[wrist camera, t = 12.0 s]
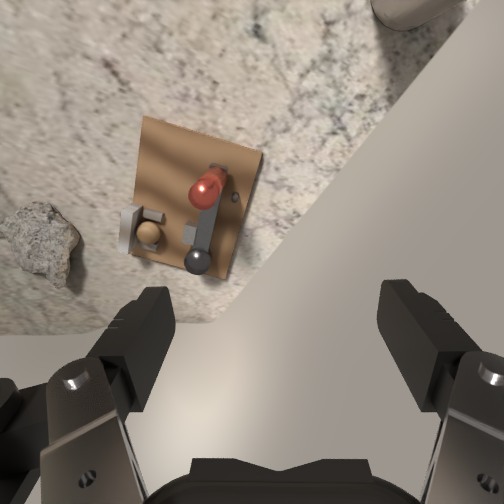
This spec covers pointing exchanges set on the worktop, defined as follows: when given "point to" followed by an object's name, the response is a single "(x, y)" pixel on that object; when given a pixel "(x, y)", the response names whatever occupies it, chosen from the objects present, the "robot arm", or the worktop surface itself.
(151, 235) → the tan wooden ball
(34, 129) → the worktop surface
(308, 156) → the worktop surface
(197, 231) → the lever
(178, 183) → the base
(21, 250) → the rock
